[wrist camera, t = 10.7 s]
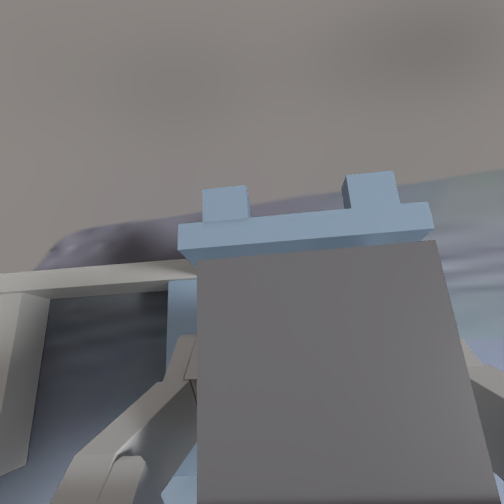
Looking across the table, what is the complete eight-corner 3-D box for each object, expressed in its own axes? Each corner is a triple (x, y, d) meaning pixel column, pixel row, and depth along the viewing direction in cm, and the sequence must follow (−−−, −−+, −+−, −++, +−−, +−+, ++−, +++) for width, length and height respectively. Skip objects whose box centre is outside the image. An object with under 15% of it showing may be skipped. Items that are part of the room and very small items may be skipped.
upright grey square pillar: (257, 414, 13) (196, 542, 4) (252, 315, 14) (196, 260, 5) (358, 410, 12) (509, 540, 4) (343, 309, 14) (435, 239, 5)
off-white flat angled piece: (-89, 468, 19) (-153, 487, 17) (-45, 290, 23) (-92, 281, 20) (219, 459, 18) (207, 479, 15) (216, 269, 21) (205, 257, 19)
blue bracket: (178, 460, 18) (101, 537, 11) (182, 250, 22) (128, 196, 15) (411, 453, 17) (512, 534, 9) (371, 234, 21) (419, 167, 13)
